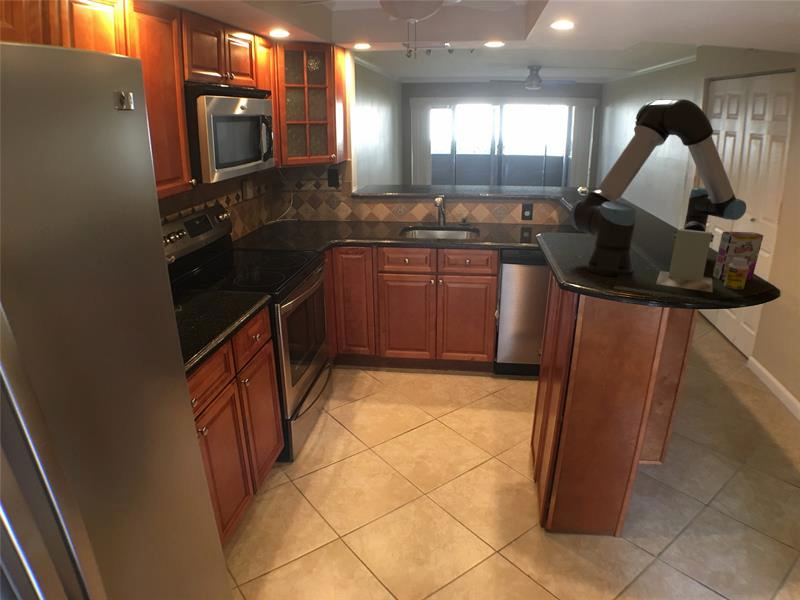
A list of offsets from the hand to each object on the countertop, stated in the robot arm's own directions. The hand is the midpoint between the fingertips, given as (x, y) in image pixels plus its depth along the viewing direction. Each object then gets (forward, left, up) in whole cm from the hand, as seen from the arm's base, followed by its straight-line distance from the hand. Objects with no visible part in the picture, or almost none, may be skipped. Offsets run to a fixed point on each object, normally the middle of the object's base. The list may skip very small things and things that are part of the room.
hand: (692, 245), depth 185 cm
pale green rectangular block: (0, -10, -9) cm, 14 cm away
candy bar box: (+14, 0, -11) cm, 17 cm away
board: (0, -13, -10) cm, 17 cm away
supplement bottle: (+14, -12, -11) cm, 21 cm away
